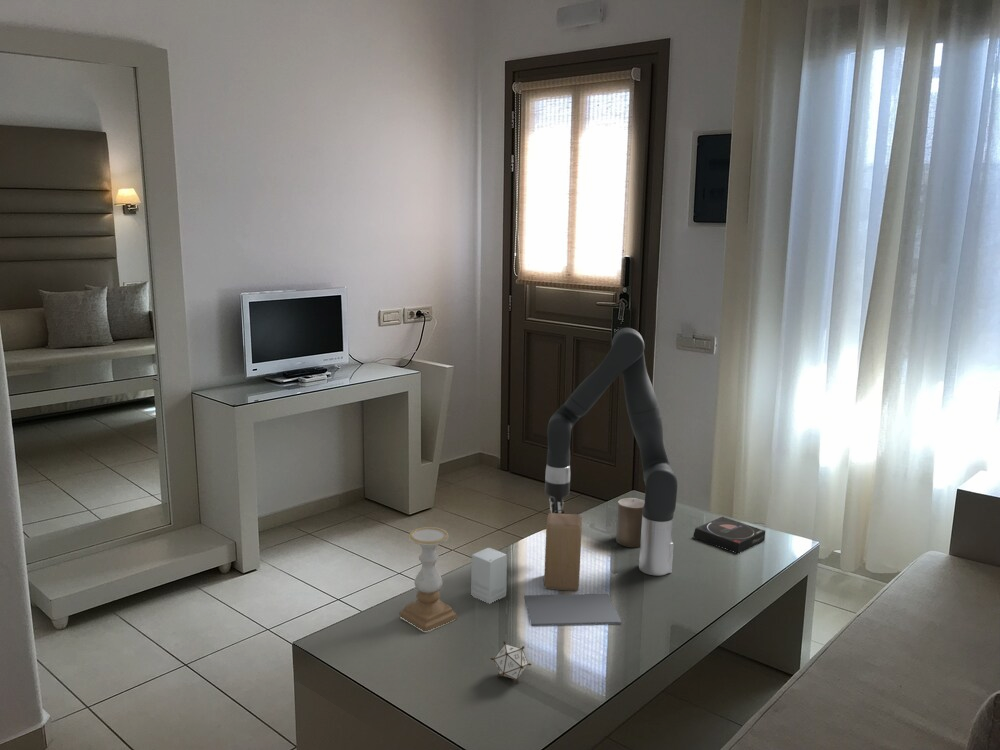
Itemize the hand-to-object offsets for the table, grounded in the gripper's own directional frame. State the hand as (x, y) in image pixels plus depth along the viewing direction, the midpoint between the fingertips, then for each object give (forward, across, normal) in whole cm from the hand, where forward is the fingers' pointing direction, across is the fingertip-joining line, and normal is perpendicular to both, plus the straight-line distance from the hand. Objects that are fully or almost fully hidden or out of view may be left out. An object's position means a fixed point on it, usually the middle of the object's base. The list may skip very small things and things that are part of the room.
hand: (555, 532), depth 246 cm
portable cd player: (+11, +16, -62) cm, 65 cm away
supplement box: (+10, -21, +22) cm, 32 cm away
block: (+10, -14, 0) cm, 17 cm away
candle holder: (+10, -33, +39) cm, 52 cm away
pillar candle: (+10, +15, -28) cm, 33 cm away
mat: (+10, -30, 0) cm, 31 cm away
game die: (+10, -61, +20) cm, 65 cm away
